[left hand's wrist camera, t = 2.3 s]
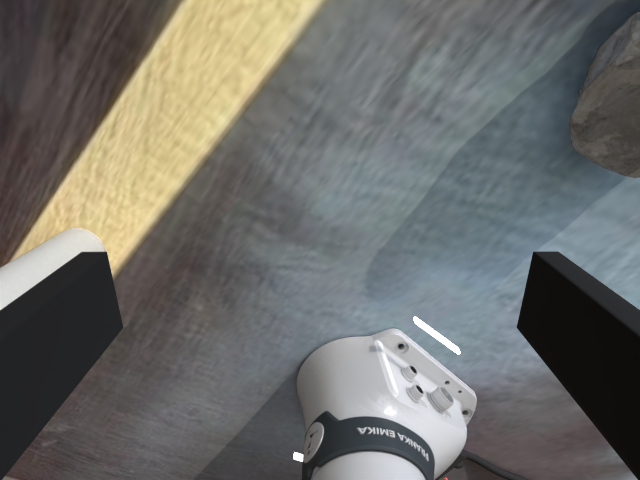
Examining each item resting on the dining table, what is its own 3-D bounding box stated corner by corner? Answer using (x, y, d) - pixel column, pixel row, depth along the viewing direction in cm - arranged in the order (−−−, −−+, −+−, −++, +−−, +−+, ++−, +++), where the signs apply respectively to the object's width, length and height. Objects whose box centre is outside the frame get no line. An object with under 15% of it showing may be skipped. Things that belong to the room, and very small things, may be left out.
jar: (45, 242, 42) (-152, 358, 25) (82, 218, 41) (-95, 322, 24) (79, 280, 44) (-82, 414, 26) (116, 258, 43) (-26, 382, 25)
